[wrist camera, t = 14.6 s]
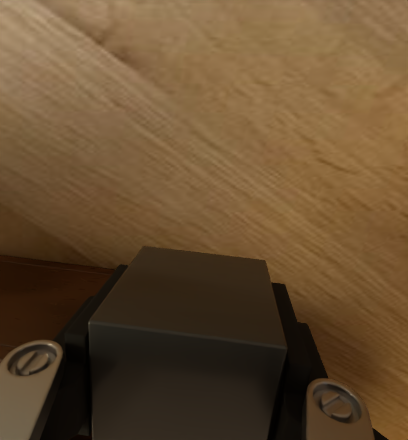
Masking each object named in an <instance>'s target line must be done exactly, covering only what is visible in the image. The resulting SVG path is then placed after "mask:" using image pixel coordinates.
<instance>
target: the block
mask: <svg viewBox="0 0 408 440" xmlns="http://www.w3.org/2000/svg"><path fill="white" fill-rule="evenodd" d="M88 332H89V359H90V386H91V413H92V440H268V439H269V434H270V430H271V425H272V420H273V415H274V411H275V406H276V401H277V396H278V392H279V387H280V382H281V377H282V373H283V368H284V363H285V358H286V354H287V349H288V348H287V344H286V340H285V336H284V332H283V328H282V324H281V320H280V316H279V312H278V308H277V304H276V300H275V296H274V292H273V288H272V284H271V280H270V276H269V272H268V268H267V264H266V261H265V260H259V259H250V258H241V257H233V256H224V255H216V254H207V253H199V252H190V251H181V250H173V249H164V248H156V247H147V246H143V247H142V249H141V250H140V251H139V253H138V254H137V255H136V257H135V258H134V259H133V261H132V262H131V264H130V265H129V266H128V268H127V269H126V270H125V272H124V273H123V275H122V276H121V277H120V279H119V280H118V281H117V283H116V284H115V285H114V287H113V288H112V290H111V291H110V292H109V294H108V295H107V296H106V298H105V299H104V301H103V302H102V303H101V305H100V306H99V307H98V309H97V310H96V311H95V313H94V314H93V316H92V317H91V318H90V320H89V322H88Z"/></svg>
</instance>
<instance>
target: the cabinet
mask: <svg viewBox="0 0 408 440" xmlns="http://www.w3.org/2000/svg"><path fill="white" fill-rule="evenodd" d="M114 271H115V270H113V269H105V268H97V267H89V266H81V265H73V264H65V263H57V262H49V261H41V260H33V259H26V258H18V257H10V256H2V255H0V363H1V362H2V360H3V359H4V358H5V357H6V355H7V354H8V353H9V352H11V351H12V350H14V349H15V348H17V347H19V346H21V345H23V344H25V343H28V342H32V341H36V340H51V341H52V340H53V339H54V338H55V337H56V335H57V334H58V333H59V332H60V331H61V329H62V328H63V327H64V326H65V325H66V323H67V322H68V321H69V320H70V319H71V317H72V316H73V315H74V314H75V313H76V311H77V310H78V309H79V308H80V307H81V305H82V304H83V303H84V302H85V301H86V299H87V298H88V297H90V296H95V295H96V294H97V292H98V291H99V290H100V289H101V287H102V286H103V285H104V284H105V282H106V281H107V280H108V279H109V277H110V276H111V275H112V274H113V272H114Z"/></svg>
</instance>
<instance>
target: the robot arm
mask: <svg viewBox="0 0 408 440" xmlns="http://www.w3.org/2000/svg"><path fill="white" fill-rule="evenodd" d="M128 266H129V265H123V264H120V265H119V266H118V267H117V269H116V270H115V271H114V272H113V274H112V275H111V276H110V277H109V279H108V280H107V281H106V282H105V284H104V285H103V286H102V287H101V289H100V290H99V291H98V292H97V294H96V295H95V296H90V297H88V298H87V299H86V301H85V302H84V303H83V304H82V305H81V307H80V308H79V309H78V310H77V311H76V313H75V314H74V315H73V316H72V317H71V319H70V320H69V321H68V322H67V323H66V325H65V326H64V327H63V328H62V329H61V331H60V332H59V333H58V334H57V335H56V337H55V338H54V339H53V340H52V341H51V340H36V341H32V342H28V343H25V344H23V345H21V346H19V347H17V348H15V349H14V350H12V351H11V352H9V353H8V354H7V355H6V357H5V358H4V359H3V360H2V362H1V363H0V440H69V439H71V438H72V437H74V436H76V435H78V434H79V435H85V436H90V433H91V431H92V413H91V386H90V359H89V332H88V322H89V320H90V318H91V317H92V316H93V314H94V313H95V311H96V310H97V309H98V307H99V306H100V305H101V303H102V302H103V301H104V299H105V298H106V296H107V295H108V294H109V292H110V291H111V290H112V288H113V287H114V285H115V284H116V283H117V281H118V280H119V279H120V277H121V276H122V275H123V273H124V272H125V270H126V269H127V268H128ZM271 284H272V288H273V292H274V296H275V300H276V304H277V308H278V312H279V316H280V320H281V324H282V328H283V332H284V336H285V340H286V344H287V348H288V349H287V354H286V358H285V363H284V368H283V373H282V377H281V382H280V387H279V392H278V396H277V401H276V406H275V411H274V415H273V420H272V425H271V430H270V434H269V439H268V440H388V439H387V438H385V437H384V436H383V435H381V434H380V433H379V432H378V431H376V430H375V429H374V428H372V425H371V420H370V416H369V412H368V409H367V407H366V404H365V403H364V401H363V400H362V398H361V397H360V396H359V395H358V394H357V393H356V392H355V391H354V390H353V389H351V388H350V387H348V386H346V385H345V384H343V383H341V382H338V381H336V380H333V379H328V376H327V373H326V371H325V368H324V366H323V363H322V360H321V358H320V355H319V352H318V350H317V347H316V345H315V342H314V339H313V337H312V334H311V331H310V329H309V326H308V325H307V324H306V323H301V322H297V320H296V317H295V313H294V310H293V307H292V304H291V301H290V298H289V295H288V292H287V289H286V286H285V284H280V283H272V282H271Z"/></svg>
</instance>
